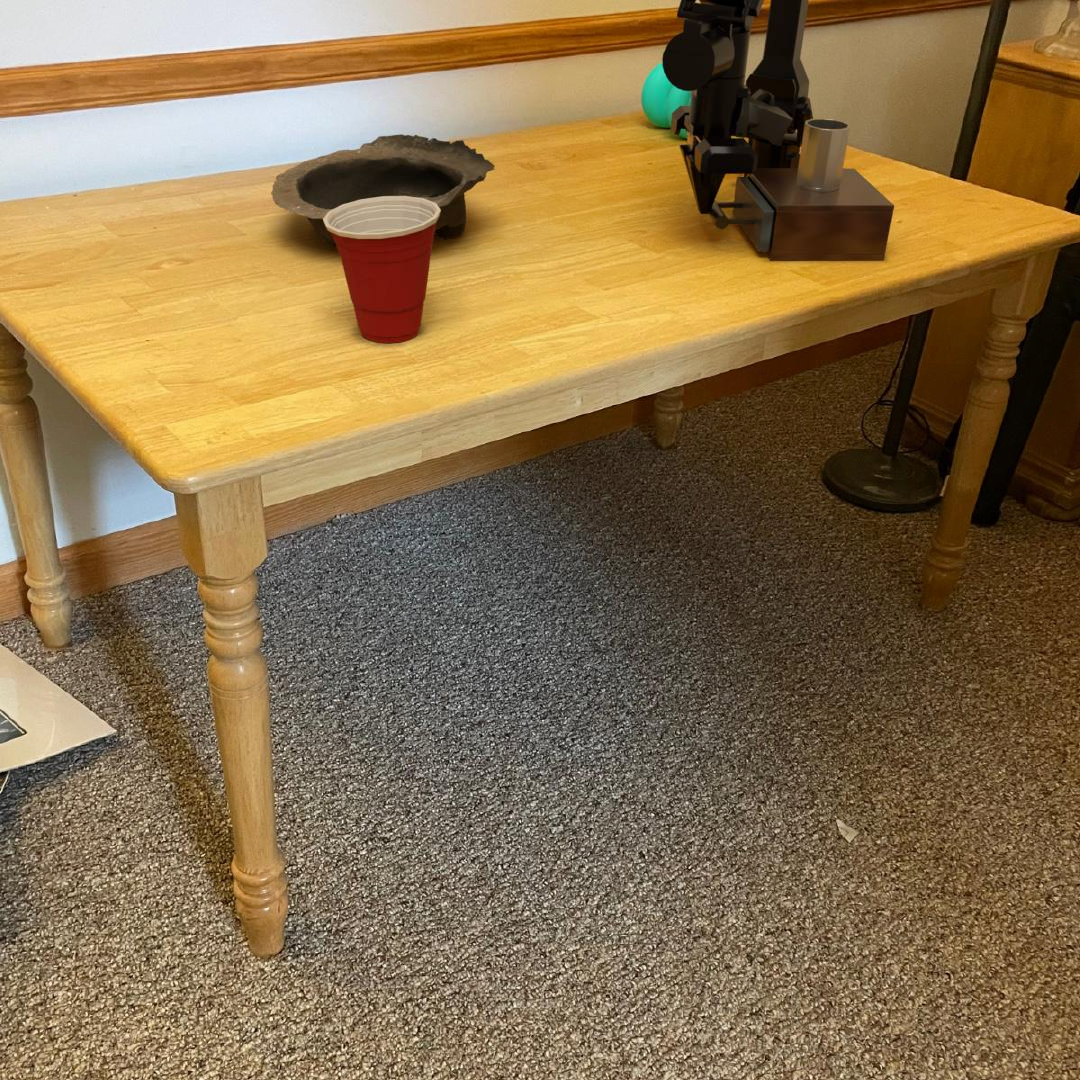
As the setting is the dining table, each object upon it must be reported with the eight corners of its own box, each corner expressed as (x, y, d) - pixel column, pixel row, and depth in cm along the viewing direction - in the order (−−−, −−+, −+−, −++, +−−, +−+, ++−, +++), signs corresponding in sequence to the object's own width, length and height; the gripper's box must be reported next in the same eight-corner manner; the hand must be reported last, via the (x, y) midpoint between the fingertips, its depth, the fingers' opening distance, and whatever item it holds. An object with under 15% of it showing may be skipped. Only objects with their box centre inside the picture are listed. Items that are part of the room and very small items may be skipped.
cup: (787, 184, 138) (796, 123, 134) (811, 176, 141) (821, 116, 137) (824, 194, 135) (834, 132, 131) (847, 186, 138) (858, 125, 134)
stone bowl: (523, 218, 143) (524, 142, 138) (422, 301, 125) (418, 218, 120) (350, 184, 152) (343, 111, 146) (231, 258, 134) (219, 178, 128)
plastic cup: (334, 310, 119) (326, 191, 112) (442, 309, 120) (439, 191, 113) (327, 355, 110) (317, 229, 103) (443, 354, 111) (441, 229, 104)
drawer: (718, 252, 134) (723, 211, 131) (695, 214, 145) (699, 176, 142) (863, 251, 136) (871, 211, 133) (829, 214, 147) (836, 176, 144)
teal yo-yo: (670, 144, 175) (676, 73, 169) (635, 128, 182) (640, 59, 177) (725, 137, 179) (733, 68, 173) (689, 122, 186) (695, 55, 181)
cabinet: (770, 260, 135) (778, 205, 131) (740, 219, 147) (747, 167, 143) (883, 260, 136) (894, 205, 132) (845, 219, 148) (854, 168, 144)
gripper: (814, 94, 123) (792, 240, 131) (769, 56, 138) (752, 189, 147) (709, 93, 122) (693, 240, 130) (676, 55, 137) (664, 188, 146)
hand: (704, 213), depth 138 cm, fingers closed, pressing on drawer
